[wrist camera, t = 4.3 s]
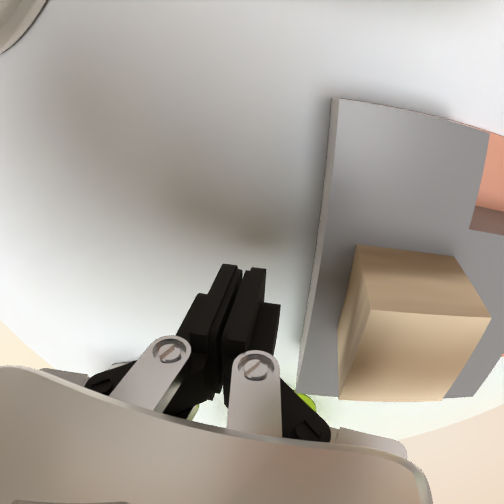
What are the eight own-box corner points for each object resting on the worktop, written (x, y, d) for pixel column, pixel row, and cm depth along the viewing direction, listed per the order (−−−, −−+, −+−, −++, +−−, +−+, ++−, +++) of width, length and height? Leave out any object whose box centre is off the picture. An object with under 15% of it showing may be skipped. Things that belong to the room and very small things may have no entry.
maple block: (356, 244, 12) (371, 309, 8) (454, 256, 11) (491, 317, 8) (337, 329, 14) (338, 399, 11) (422, 335, 13) (441, 400, 10)
